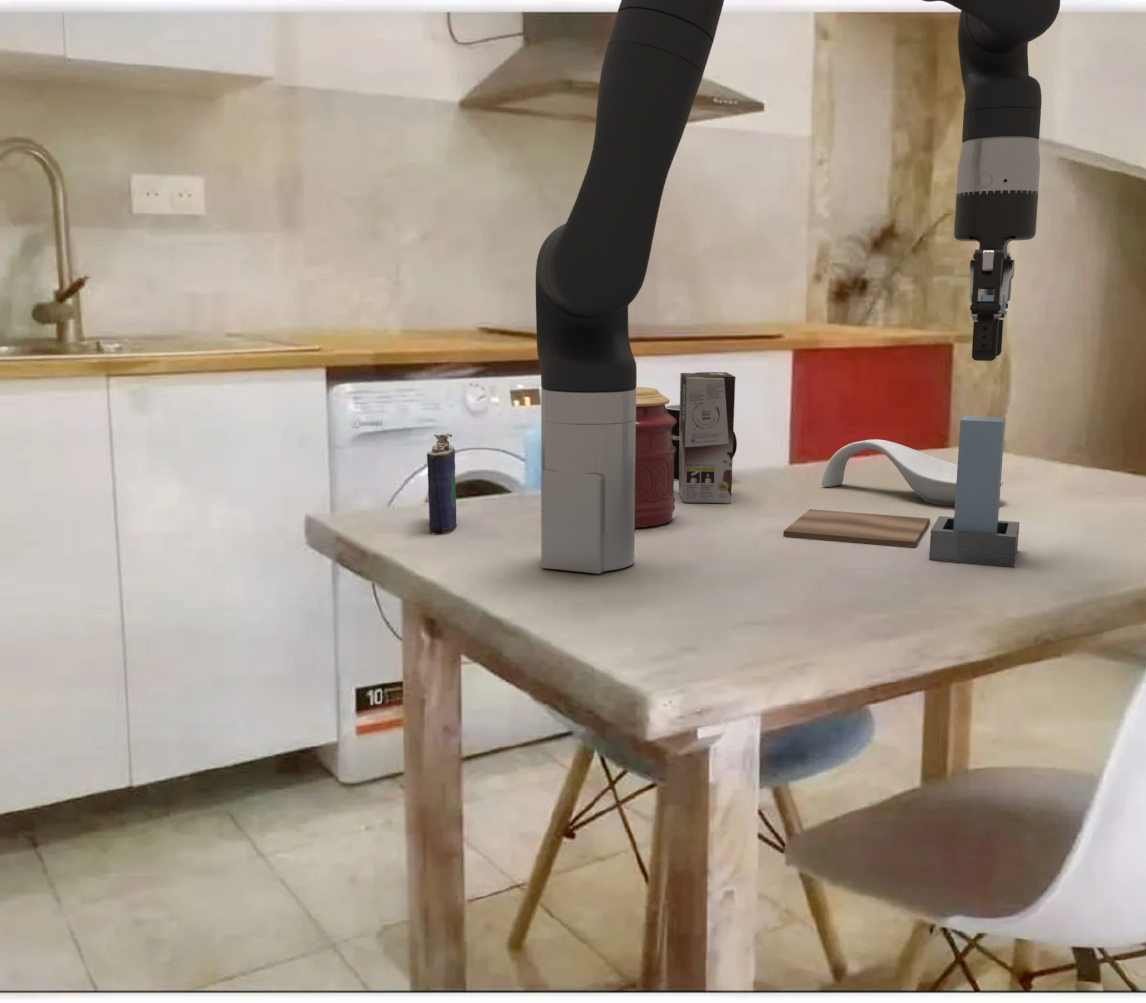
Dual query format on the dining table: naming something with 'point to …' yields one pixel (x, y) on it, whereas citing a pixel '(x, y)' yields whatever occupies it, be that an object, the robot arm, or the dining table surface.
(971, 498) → the peg
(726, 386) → the coffee box
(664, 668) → the dining table surface
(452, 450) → the flask
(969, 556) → the collar
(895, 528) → the board
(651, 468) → the canister
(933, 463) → the spoon rest
